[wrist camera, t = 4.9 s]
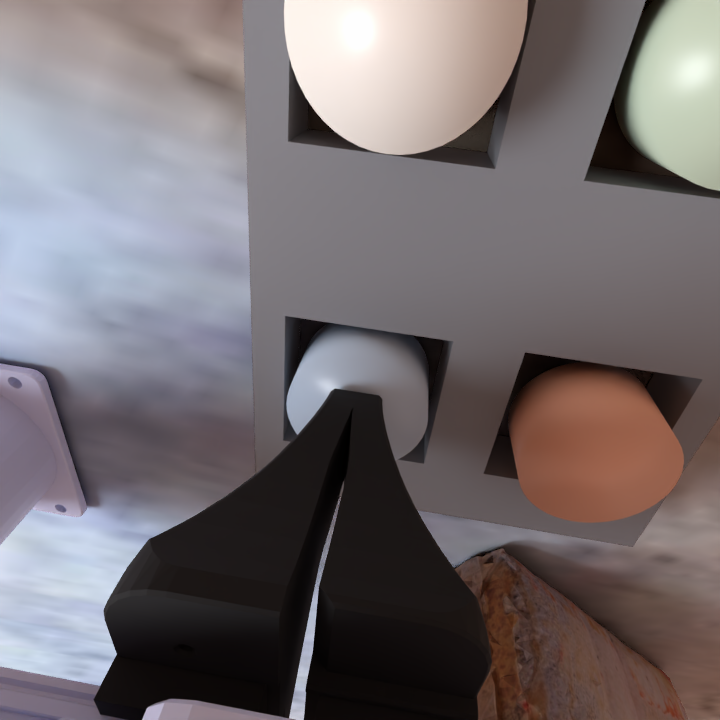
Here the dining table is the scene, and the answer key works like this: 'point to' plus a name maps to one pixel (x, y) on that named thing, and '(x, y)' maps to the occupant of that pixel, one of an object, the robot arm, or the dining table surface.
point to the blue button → (365, 379)
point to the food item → (557, 654)
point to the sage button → (674, 89)
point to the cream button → (403, 65)
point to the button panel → (483, 258)
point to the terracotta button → (592, 444)
